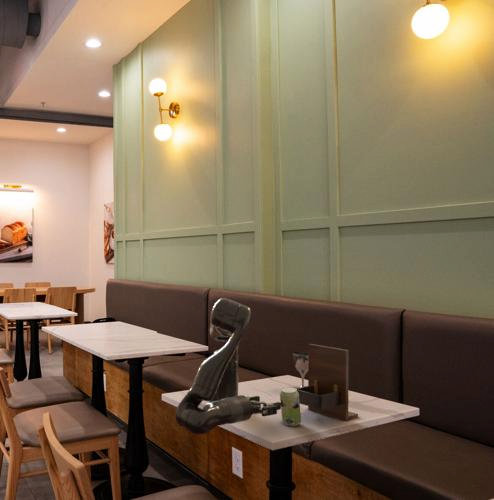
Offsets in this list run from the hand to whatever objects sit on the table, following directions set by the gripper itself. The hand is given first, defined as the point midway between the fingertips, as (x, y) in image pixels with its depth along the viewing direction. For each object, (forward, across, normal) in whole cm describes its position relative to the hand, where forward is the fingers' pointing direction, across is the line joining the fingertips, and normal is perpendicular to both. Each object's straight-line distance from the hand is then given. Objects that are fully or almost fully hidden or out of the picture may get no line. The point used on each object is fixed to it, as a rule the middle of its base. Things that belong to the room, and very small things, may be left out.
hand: (269, 402), depth 165 cm
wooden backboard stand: (+28, 0, +9) cm, 30 cm away
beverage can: (+11, 0, +9) cm, 14 cm away
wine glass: (+54, +28, +9) cm, 62 cm away
